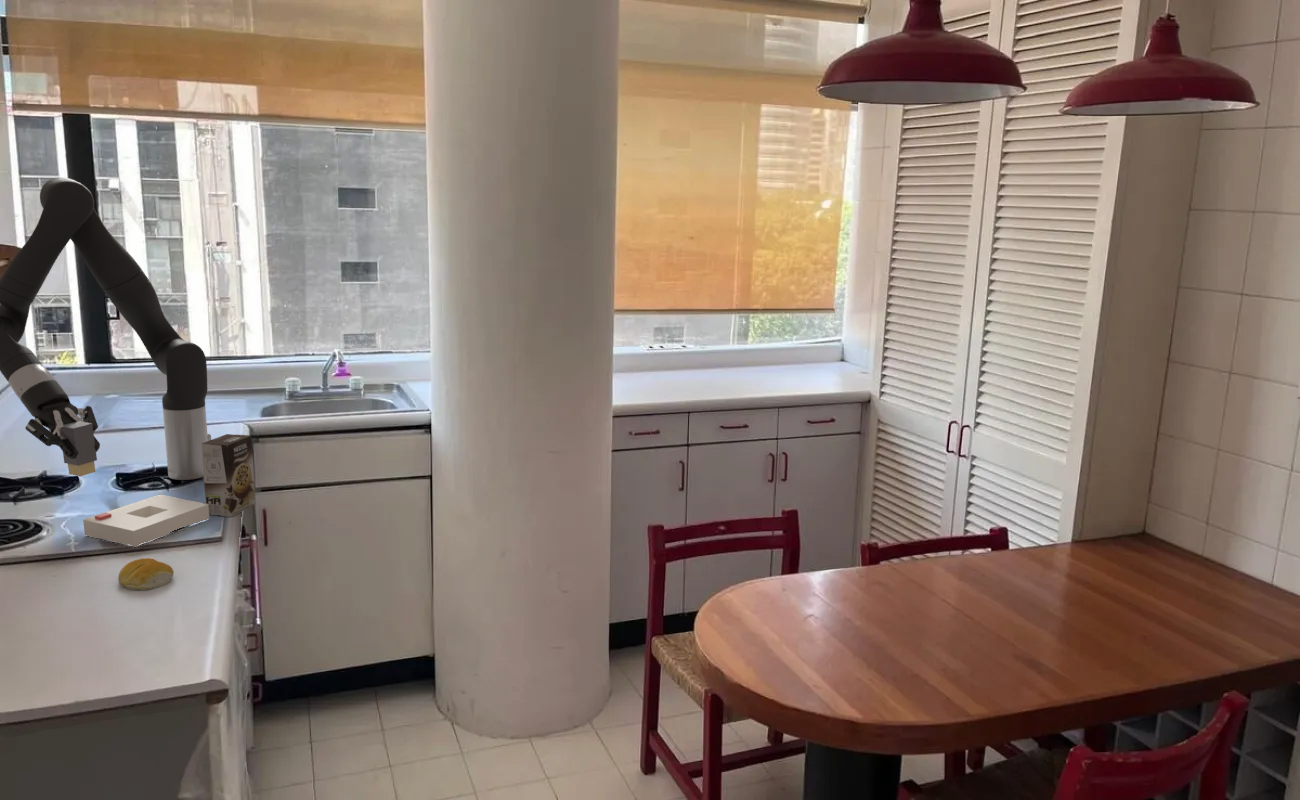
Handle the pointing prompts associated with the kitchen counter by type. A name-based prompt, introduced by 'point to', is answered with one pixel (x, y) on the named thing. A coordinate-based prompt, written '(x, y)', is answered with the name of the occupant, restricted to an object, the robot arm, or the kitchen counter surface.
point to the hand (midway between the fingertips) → (86, 452)
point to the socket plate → (145, 519)
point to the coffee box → (228, 474)
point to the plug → (80, 448)
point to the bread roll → (145, 574)
